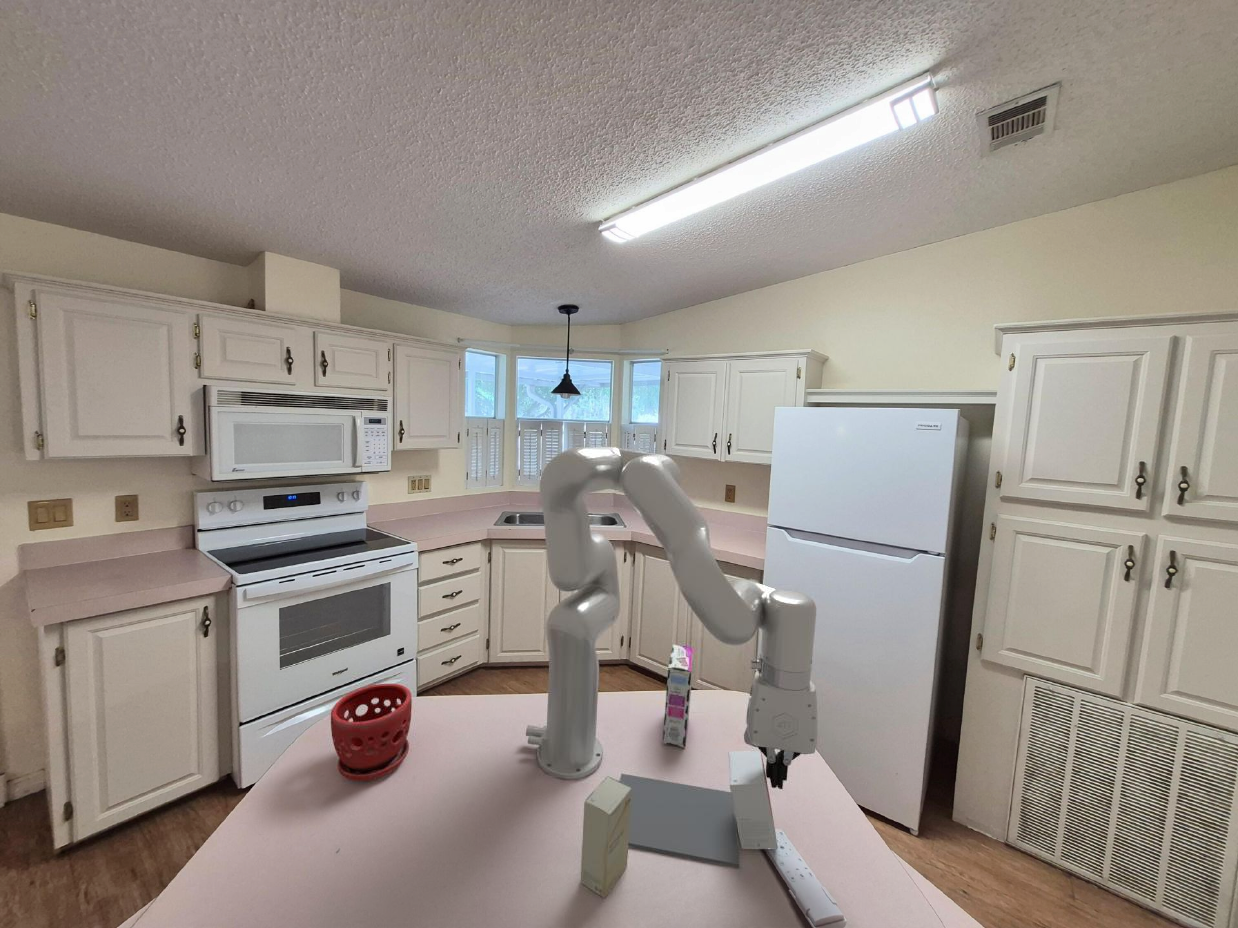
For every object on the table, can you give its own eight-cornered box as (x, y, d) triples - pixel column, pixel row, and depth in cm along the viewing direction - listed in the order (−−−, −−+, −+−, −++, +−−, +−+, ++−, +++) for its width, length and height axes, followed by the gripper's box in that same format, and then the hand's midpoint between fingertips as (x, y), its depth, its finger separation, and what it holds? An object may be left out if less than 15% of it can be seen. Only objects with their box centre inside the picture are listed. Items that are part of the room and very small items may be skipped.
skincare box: (604, 899, 64) (609, 816, 63) (578, 881, 66) (582, 801, 65) (628, 864, 69) (633, 787, 68) (603, 848, 72) (607, 773, 71)
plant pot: (409, 732, 96) (410, 675, 95) (411, 777, 84) (413, 713, 83) (335, 748, 90) (335, 688, 89) (326, 799, 78) (326, 730, 77)
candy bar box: (686, 749, 95) (692, 671, 94) (661, 744, 96) (666, 667, 95) (689, 716, 106) (694, 646, 105) (667, 712, 107) (671, 642, 105)
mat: (607, 842, 73) (607, 838, 73) (621, 776, 87) (621, 773, 87) (739, 867, 70) (739, 864, 70) (732, 795, 84) (732, 792, 83)
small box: (778, 850, 72) (766, 784, 71) (741, 850, 73) (729, 785, 72) (772, 808, 79) (761, 748, 79) (738, 809, 81) (727, 750, 80)
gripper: (737, 677, 71) (729, 791, 72) (842, 691, 69) (831, 808, 70) (733, 654, 78) (726, 758, 80) (828, 665, 76) (818, 772, 78)
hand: (775, 781), depth 75 cm, fingers closed
